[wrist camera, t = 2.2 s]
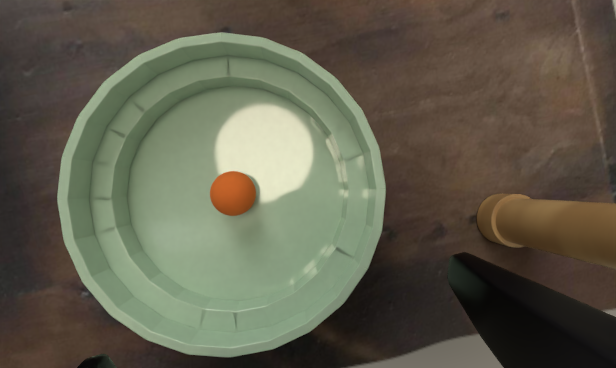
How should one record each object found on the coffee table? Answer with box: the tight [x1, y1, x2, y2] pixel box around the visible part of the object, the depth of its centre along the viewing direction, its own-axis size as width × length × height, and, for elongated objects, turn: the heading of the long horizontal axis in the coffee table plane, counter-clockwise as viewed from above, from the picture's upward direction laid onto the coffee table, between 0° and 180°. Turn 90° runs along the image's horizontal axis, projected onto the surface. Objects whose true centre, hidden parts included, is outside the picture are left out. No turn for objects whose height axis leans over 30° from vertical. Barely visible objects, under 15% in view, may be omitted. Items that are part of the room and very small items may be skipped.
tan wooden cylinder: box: [477, 194, 616, 269], centre depth 17 cm, size 4×4×14 cm
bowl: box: [57, 33, 386, 358], centre depth 21 cm, size 19×19×4 cm
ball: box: [210, 171, 256, 216], centre depth 21 cm, size 3×3×3 cm
